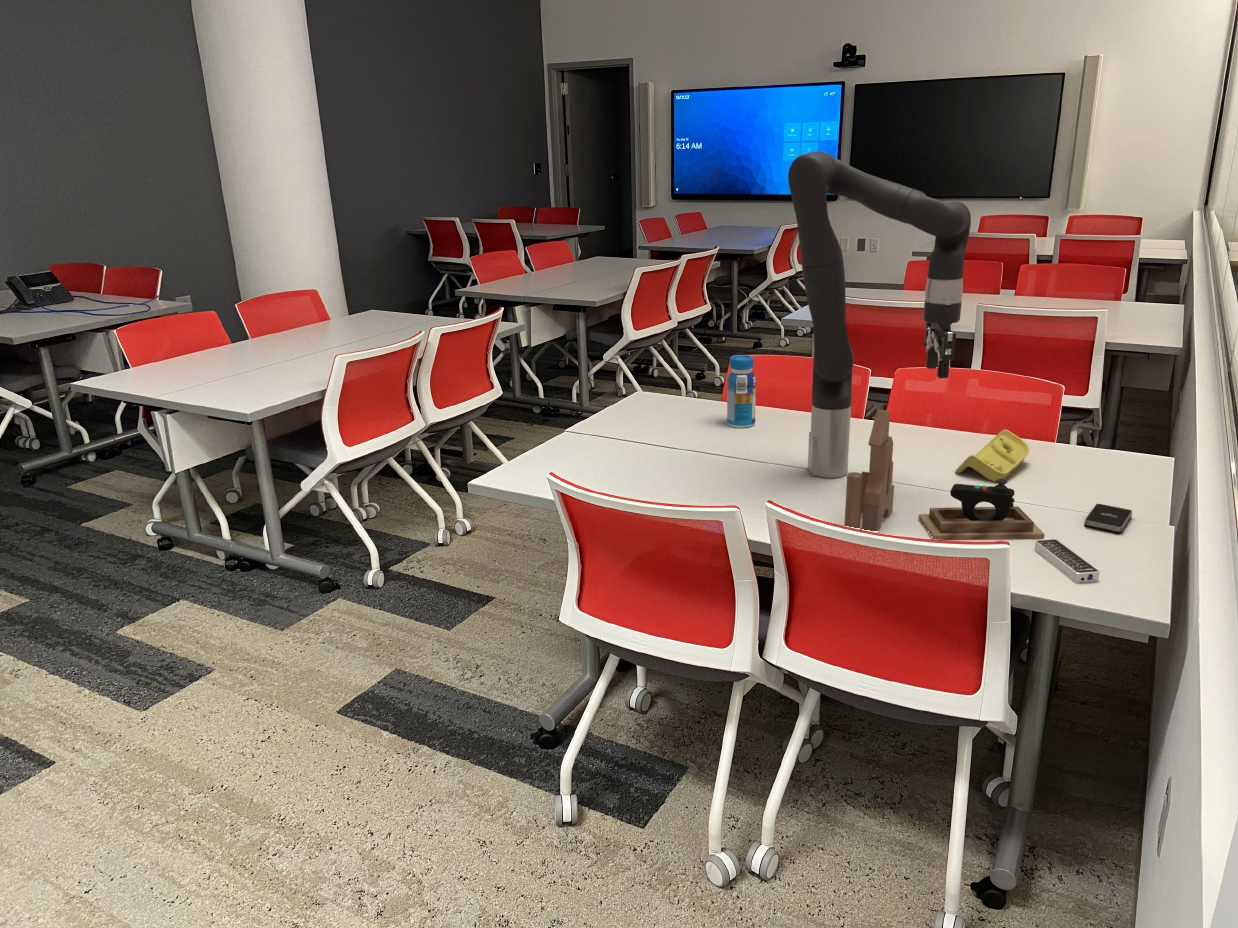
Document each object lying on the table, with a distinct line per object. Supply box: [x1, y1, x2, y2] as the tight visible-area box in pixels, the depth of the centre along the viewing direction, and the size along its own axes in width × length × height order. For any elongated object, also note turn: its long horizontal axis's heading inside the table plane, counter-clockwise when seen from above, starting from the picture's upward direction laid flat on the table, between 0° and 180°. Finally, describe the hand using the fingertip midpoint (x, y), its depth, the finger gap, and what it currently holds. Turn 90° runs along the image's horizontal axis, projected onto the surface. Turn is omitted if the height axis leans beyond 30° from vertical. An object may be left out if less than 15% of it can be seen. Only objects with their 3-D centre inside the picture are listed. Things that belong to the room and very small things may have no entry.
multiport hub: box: [1033, 538, 1100, 584], centre depth 167 cm, size 4×14×2 cm, turn 5°
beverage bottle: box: [726, 354, 757, 429], centre depth 254 cm, size 8×8×20 cm
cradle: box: [918, 506, 1045, 541], centre depth 183 cm, size 22×11×3 cm, turn 87°
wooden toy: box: [844, 409, 895, 532], centre depth 185 cm, size 16×7×25 cm, turn 150°
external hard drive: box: [1083, 503, 1133, 535], centre depth 184 cm, size 7×11×2 cm, turn 141°
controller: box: [949, 478, 1015, 521], centre depth 182 cm, size 4×12×10 cm, turn 67°
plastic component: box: [955, 429, 1030, 483], centre depth 216 cm, size 20×7×10 cm
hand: (936, 373), depth 194 cm, fingers open, 8 cm apart
